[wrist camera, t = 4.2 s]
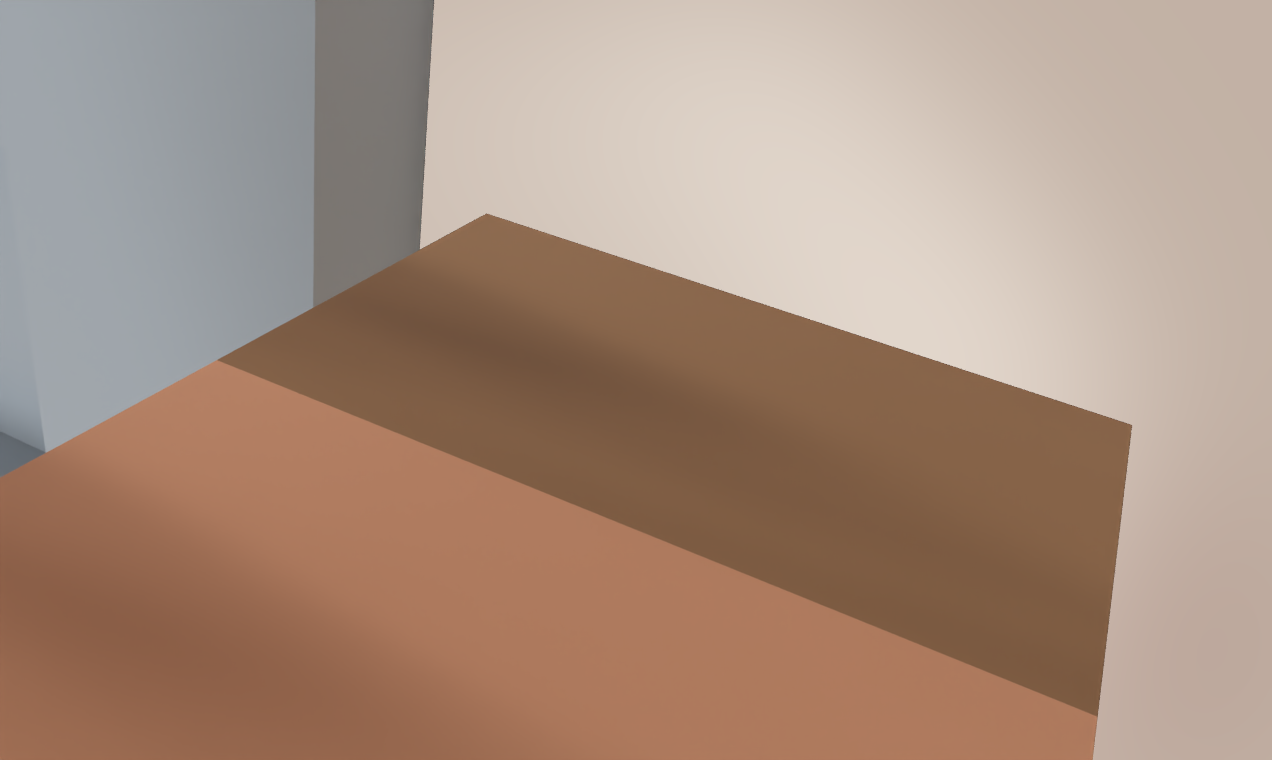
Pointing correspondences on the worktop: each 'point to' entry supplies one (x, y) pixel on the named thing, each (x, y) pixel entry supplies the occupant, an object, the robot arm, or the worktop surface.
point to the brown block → (562, 538)
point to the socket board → (190, 186)
